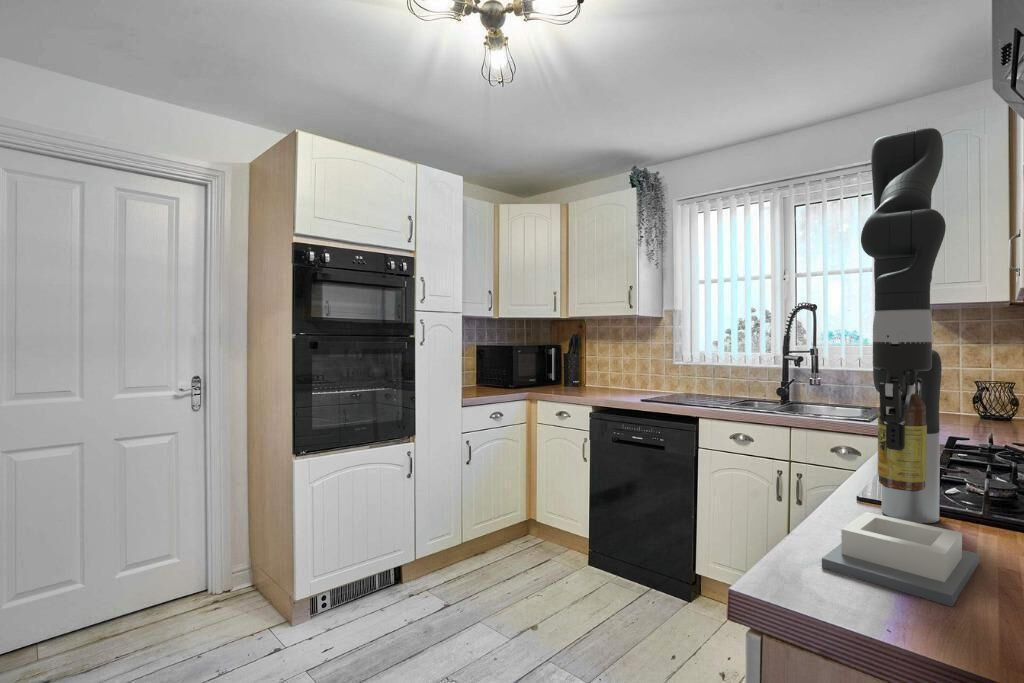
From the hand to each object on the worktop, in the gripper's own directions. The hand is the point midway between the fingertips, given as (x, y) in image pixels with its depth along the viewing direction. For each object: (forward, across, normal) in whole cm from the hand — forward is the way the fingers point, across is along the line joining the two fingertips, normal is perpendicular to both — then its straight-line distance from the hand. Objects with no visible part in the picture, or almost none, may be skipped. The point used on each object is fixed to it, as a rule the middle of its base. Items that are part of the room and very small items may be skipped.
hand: (901, 445), depth 84 cm
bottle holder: (+19, 0, 0) cm, 19 cm away
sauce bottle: (+7, 0, 0) cm, 7 cm away
